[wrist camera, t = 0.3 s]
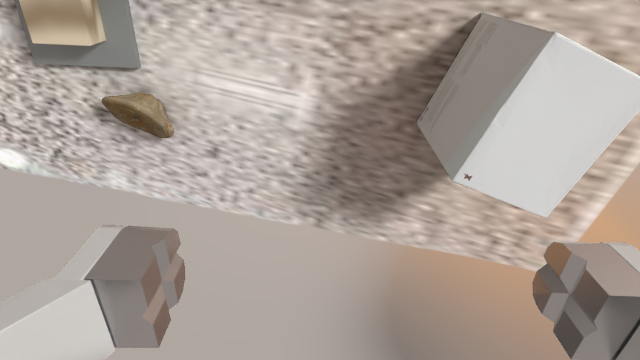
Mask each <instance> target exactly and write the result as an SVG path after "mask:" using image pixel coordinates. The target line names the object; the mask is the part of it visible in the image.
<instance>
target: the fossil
mask: <svg viewBox="0 0 640 360" xmlns="http://www.w3.org/2000/svg"><path fill="white" fill-rule="evenodd" d="M102 103H103V105H104V106H105V107H106V108H107V109H108V110H109V111H110V112H111V113H112V114H113V116H114V117H116V118H117V119H119V120H120V121H122V122H123V123H126V124H128V125H130V126H133V127H135V128H138V129H141V130H143V131H146V132H148V133H151V134H153V135H155V136H158V137H160V138H170V137H171V136H172V135H173V133H174V129H173V127H172V125H171V123H170V121H169V119H168V117H167V114H166V109H165V106H164V104H163V103H162V102H161V101H160V100H158V99H156V98H155V97H154V96H153V95H150V94H145V93H135V94H131V95H120V96H108V97H104V98H103V99H102Z"/></svg>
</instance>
